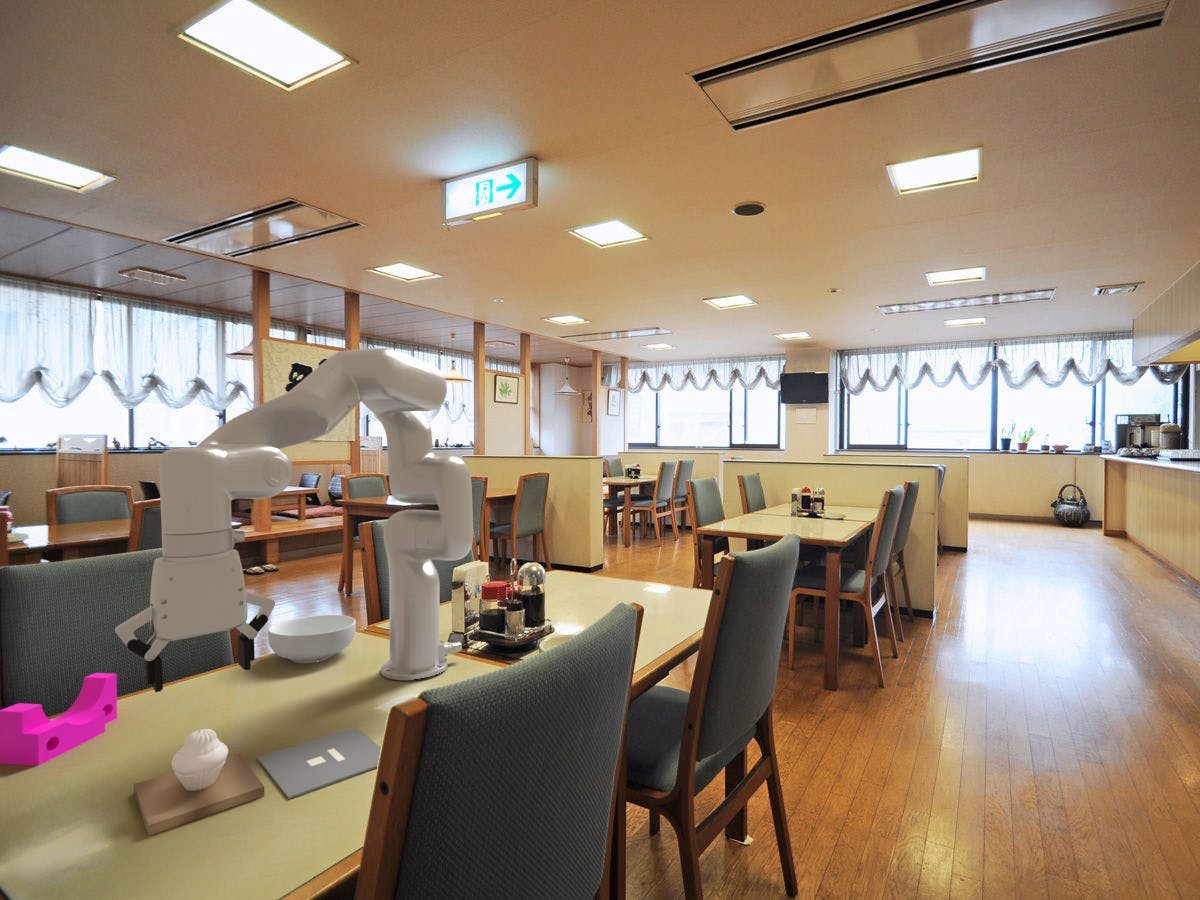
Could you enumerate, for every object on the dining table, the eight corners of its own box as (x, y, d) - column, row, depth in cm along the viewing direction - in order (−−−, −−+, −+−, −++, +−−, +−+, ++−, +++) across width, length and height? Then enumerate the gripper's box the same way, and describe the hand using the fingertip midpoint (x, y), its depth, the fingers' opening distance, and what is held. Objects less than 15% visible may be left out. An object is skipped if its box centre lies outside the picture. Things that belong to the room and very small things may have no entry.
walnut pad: (239, 761, 89) (239, 752, 89) (264, 795, 80) (264, 786, 80) (133, 793, 81) (133, 784, 81) (148, 835, 72) (148, 825, 72)
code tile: (355, 728, 99) (355, 726, 99) (395, 761, 89) (395, 759, 89) (257, 759, 89) (257, 756, 89) (288, 799, 79) (288, 796, 79)
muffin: (159, 793, 78) (158, 737, 78) (203, 769, 84) (202, 716, 84) (197, 801, 77) (197, 743, 77) (239, 775, 83) (239, 722, 82)
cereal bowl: (372, 649, 138) (372, 617, 138) (315, 675, 122) (315, 639, 122) (311, 641, 144) (311, 610, 144) (248, 665, 128) (248, 630, 128)
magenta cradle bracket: (38, 766, 88) (38, 713, 88) (-1, 764, 89) (-2, 710, 89) (130, 720, 103) (130, 674, 103) (96, 718, 103) (95, 672, 103)
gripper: (264, 532, 89) (267, 653, 89) (108, 550, 77) (114, 688, 78) (280, 539, 83) (284, 667, 84) (116, 559, 72) (122, 708, 72)
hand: (202, 677), depth 81 cm, fingers open, 9 cm apart
